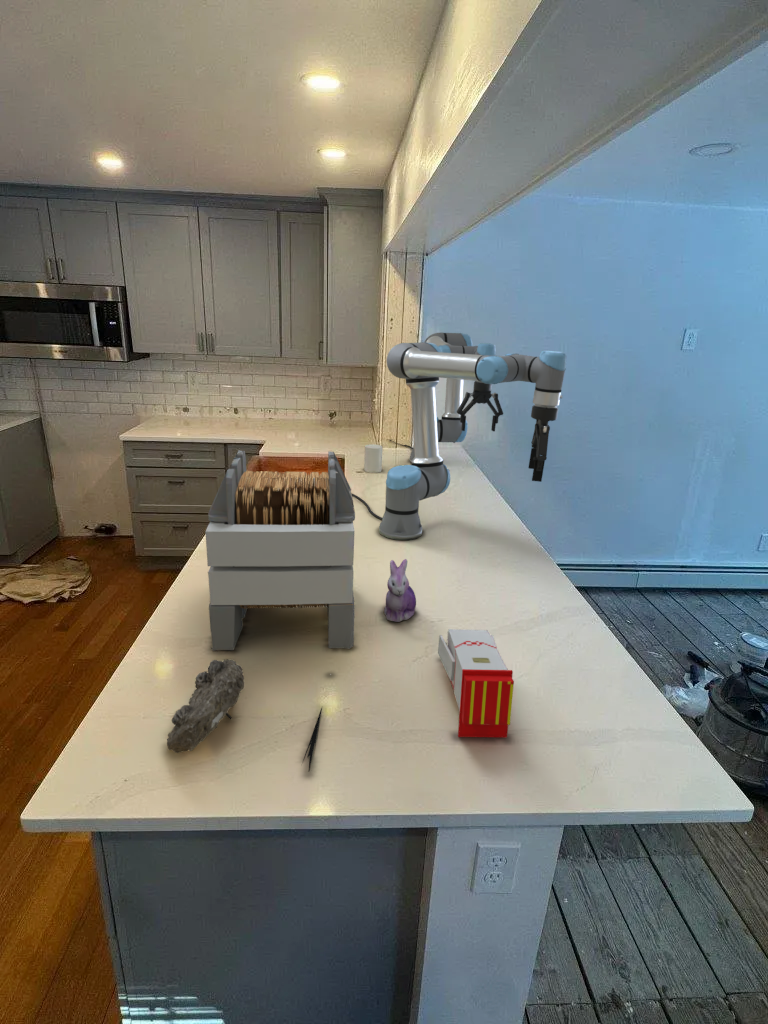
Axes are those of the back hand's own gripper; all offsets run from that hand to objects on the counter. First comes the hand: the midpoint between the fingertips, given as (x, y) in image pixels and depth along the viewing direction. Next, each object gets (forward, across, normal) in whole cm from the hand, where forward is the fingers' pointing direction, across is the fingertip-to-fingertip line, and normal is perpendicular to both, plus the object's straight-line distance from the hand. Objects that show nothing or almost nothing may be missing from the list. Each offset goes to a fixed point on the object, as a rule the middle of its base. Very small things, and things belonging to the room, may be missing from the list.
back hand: (478, 430), depth 248 cm
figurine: (+25, -52, -110) cm, 124 cm away
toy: (+24, -42, -142) cm, 151 cm away
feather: (+24, -74, -148) cm, 167 cm away
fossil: (+24, -94, -146) cm, 175 cm away
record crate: (+25, -81, -108) cm, 137 cm away
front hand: (-3, -6, -77) cm, 78 cm away
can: (+26, -42, +27) cm, 57 cm away
